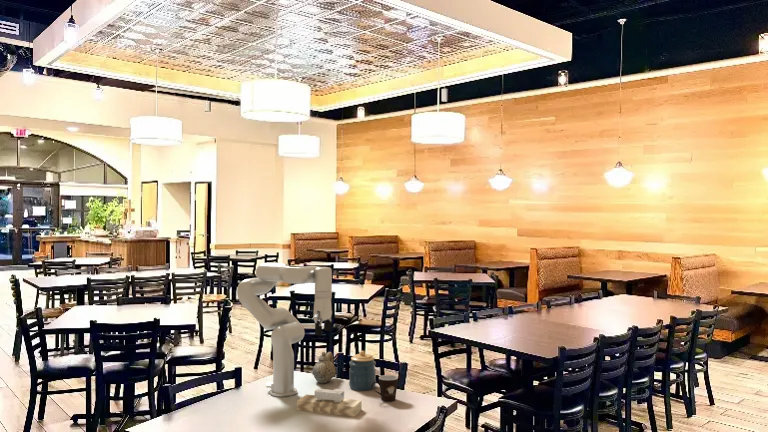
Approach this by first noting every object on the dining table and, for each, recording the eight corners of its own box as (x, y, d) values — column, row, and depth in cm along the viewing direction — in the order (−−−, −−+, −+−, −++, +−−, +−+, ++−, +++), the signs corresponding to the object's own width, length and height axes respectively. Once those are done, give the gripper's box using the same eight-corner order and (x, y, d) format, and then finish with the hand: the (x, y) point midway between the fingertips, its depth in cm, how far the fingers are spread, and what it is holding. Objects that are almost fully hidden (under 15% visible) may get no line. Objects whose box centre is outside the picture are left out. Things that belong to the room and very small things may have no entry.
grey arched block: (314, 409, 248) (314, 391, 248) (318, 407, 252) (318, 388, 252) (340, 412, 244) (340, 393, 244) (344, 410, 248) (344, 391, 248)
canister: (360, 392, 272) (360, 355, 273) (343, 387, 282) (343, 350, 282) (381, 387, 281) (381, 351, 281) (364, 381, 291) (364, 346, 291)
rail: (297, 409, 248) (297, 400, 248) (306, 403, 257) (306, 394, 257) (353, 416, 240) (353, 406, 240) (361, 409, 248) (361, 400, 248)
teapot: (329, 388, 280) (329, 356, 280) (306, 386, 282) (306, 355, 282) (341, 376, 301) (341, 347, 301) (319, 375, 303) (319, 346, 303)
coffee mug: (398, 397, 266) (398, 375, 266) (397, 403, 257) (397, 380, 258) (373, 396, 267) (373, 374, 267) (371, 402, 259) (371, 379, 259)
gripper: (323, 292, 271) (323, 328, 271) (307, 296, 254) (307, 335, 254) (338, 292, 268) (338, 329, 268) (322, 297, 252) (322, 337, 252)
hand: (323, 332), depth 261 cm, fingers open, 9 cm apart
